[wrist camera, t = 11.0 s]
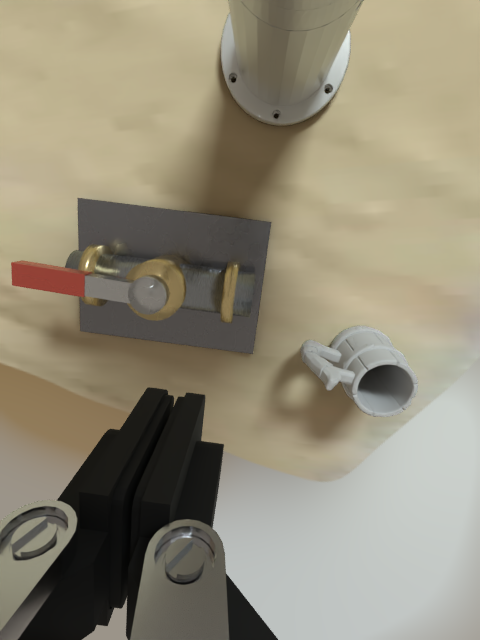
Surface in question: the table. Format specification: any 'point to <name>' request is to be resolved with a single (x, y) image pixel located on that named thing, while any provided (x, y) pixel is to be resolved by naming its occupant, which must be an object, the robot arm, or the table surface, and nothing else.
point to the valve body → (174, 273)
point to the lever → (93, 285)
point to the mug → (364, 370)
